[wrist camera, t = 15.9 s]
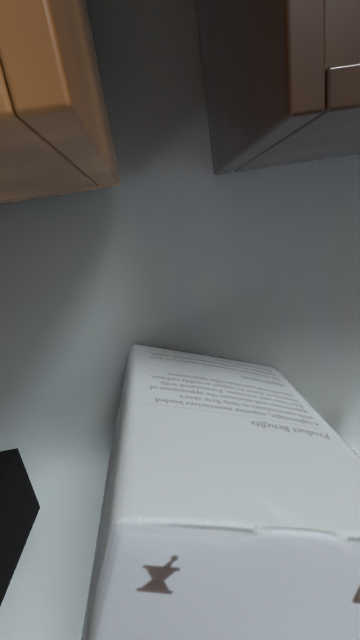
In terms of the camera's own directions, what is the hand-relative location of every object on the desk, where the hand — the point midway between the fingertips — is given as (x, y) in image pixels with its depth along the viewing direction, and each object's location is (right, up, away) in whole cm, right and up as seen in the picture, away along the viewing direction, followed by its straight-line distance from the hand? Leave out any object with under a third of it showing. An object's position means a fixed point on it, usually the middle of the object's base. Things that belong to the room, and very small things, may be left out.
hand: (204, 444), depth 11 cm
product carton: (0, +1, +1) cm, 2 cm away
